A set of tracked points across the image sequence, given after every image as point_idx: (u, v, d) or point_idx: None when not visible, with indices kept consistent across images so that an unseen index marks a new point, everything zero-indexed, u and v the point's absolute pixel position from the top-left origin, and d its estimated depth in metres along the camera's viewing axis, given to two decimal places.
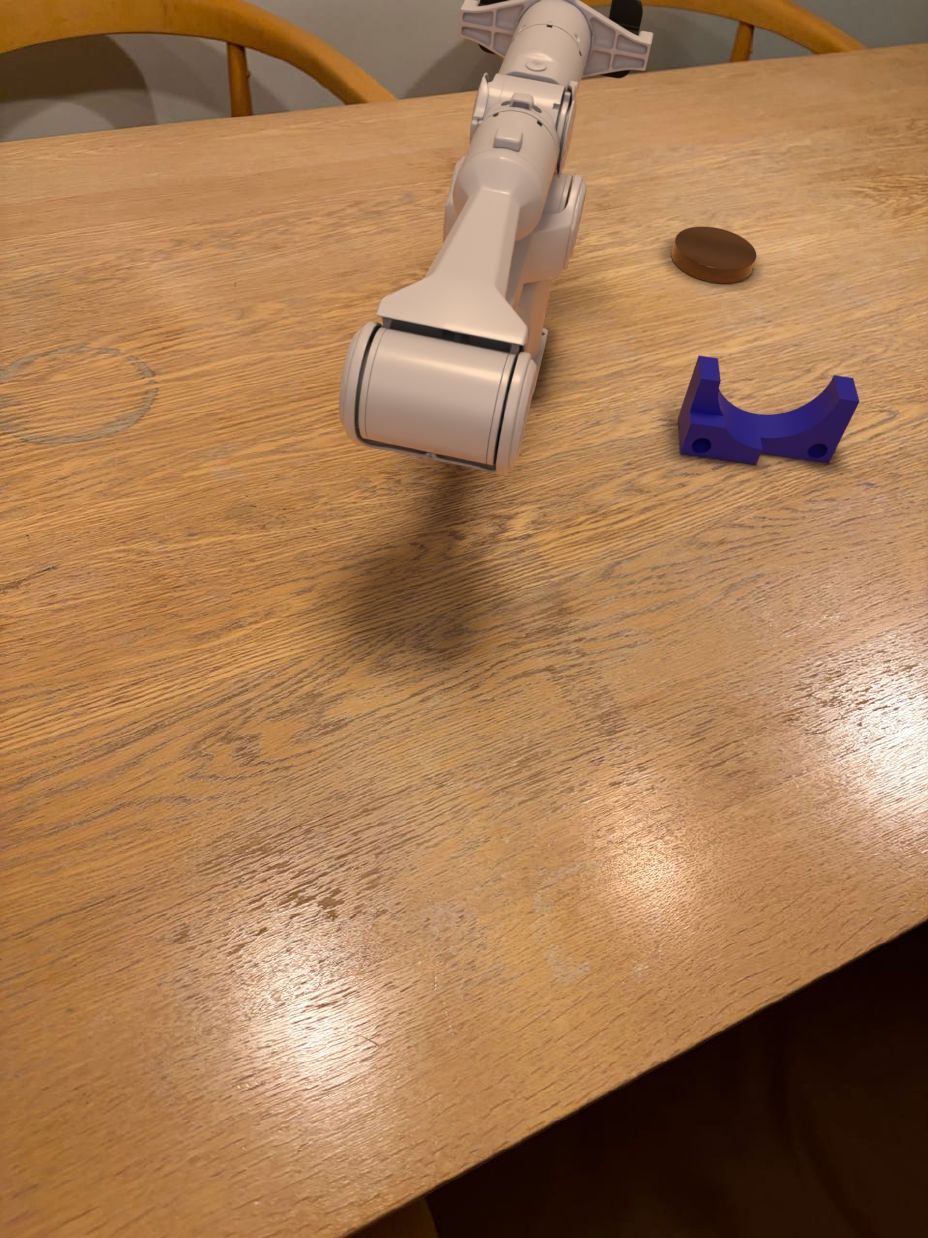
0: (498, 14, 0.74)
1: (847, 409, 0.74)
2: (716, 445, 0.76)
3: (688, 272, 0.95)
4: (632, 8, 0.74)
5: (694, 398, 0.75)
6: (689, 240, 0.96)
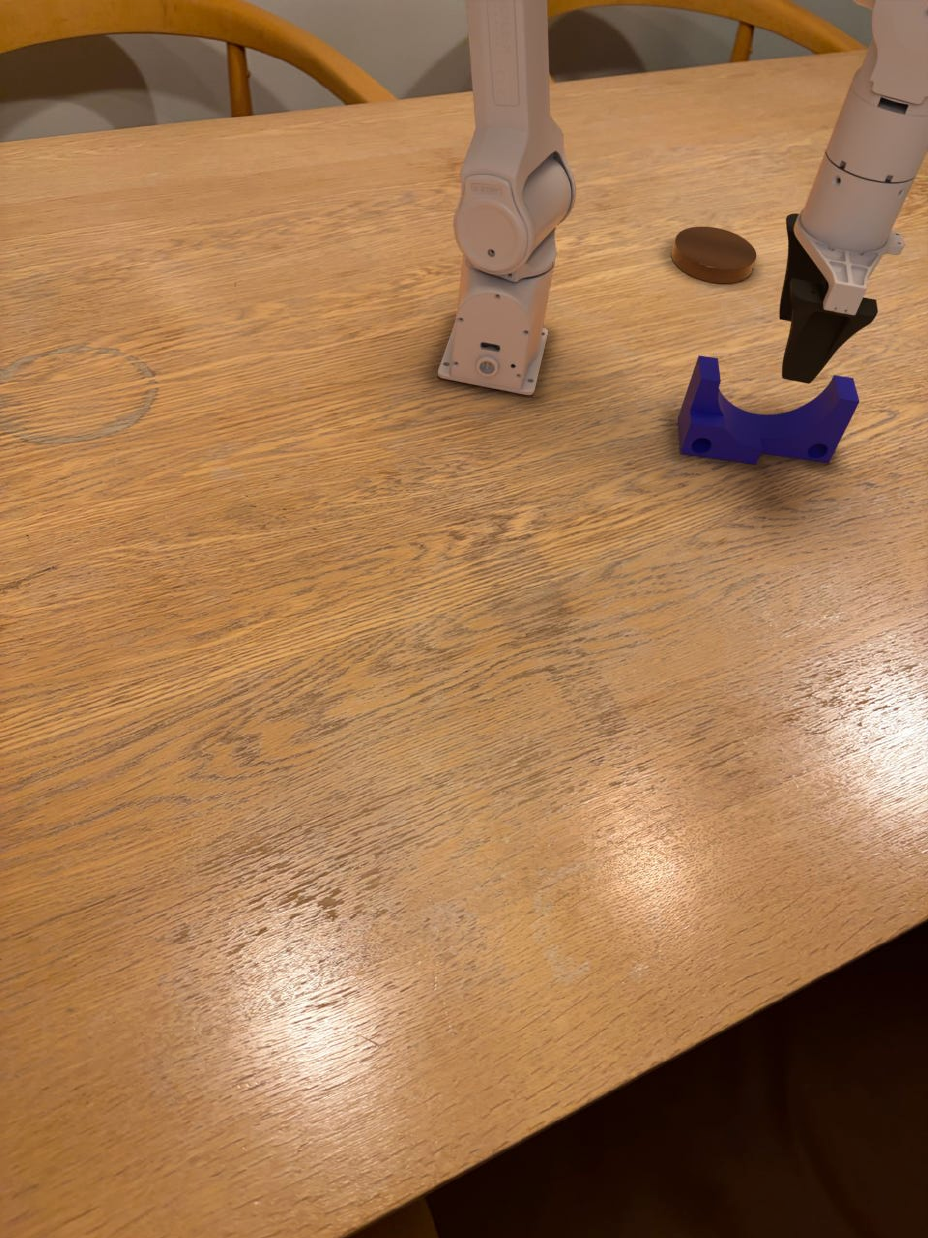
0: None
1: (847, 409, 0.74)
2: (716, 445, 0.76)
3: (688, 272, 0.95)
4: (868, 309, 0.63)
5: (694, 398, 0.75)
6: (689, 240, 0.96)
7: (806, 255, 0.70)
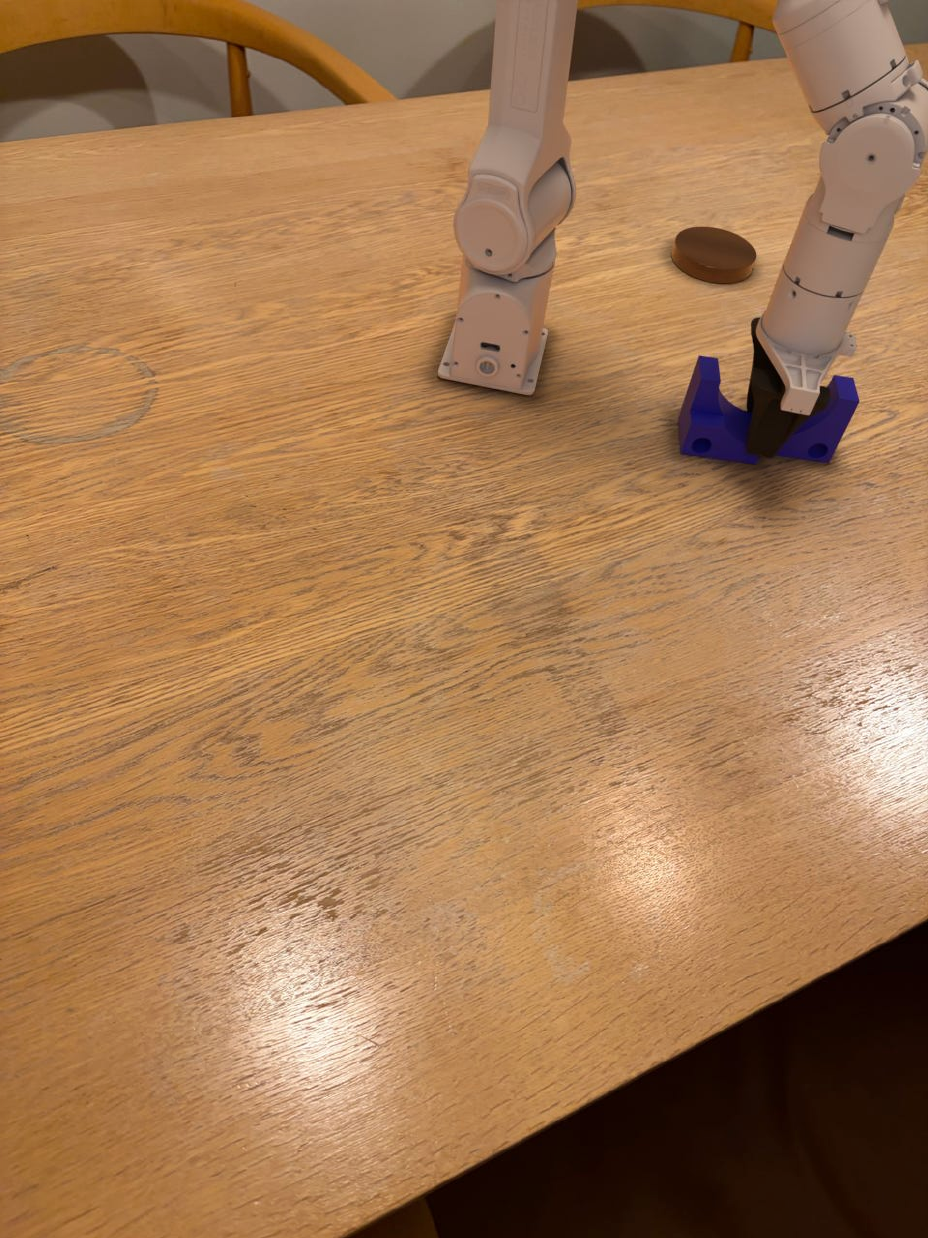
0: None
1: (847, 409, 0.74)
2: (716, 445, 0.76)
3: (688, 272, 0.95)
4: (822, 397, 0.70)
5: (694, 398, 0.75)
6: (689, 240, 0.96)
7: None
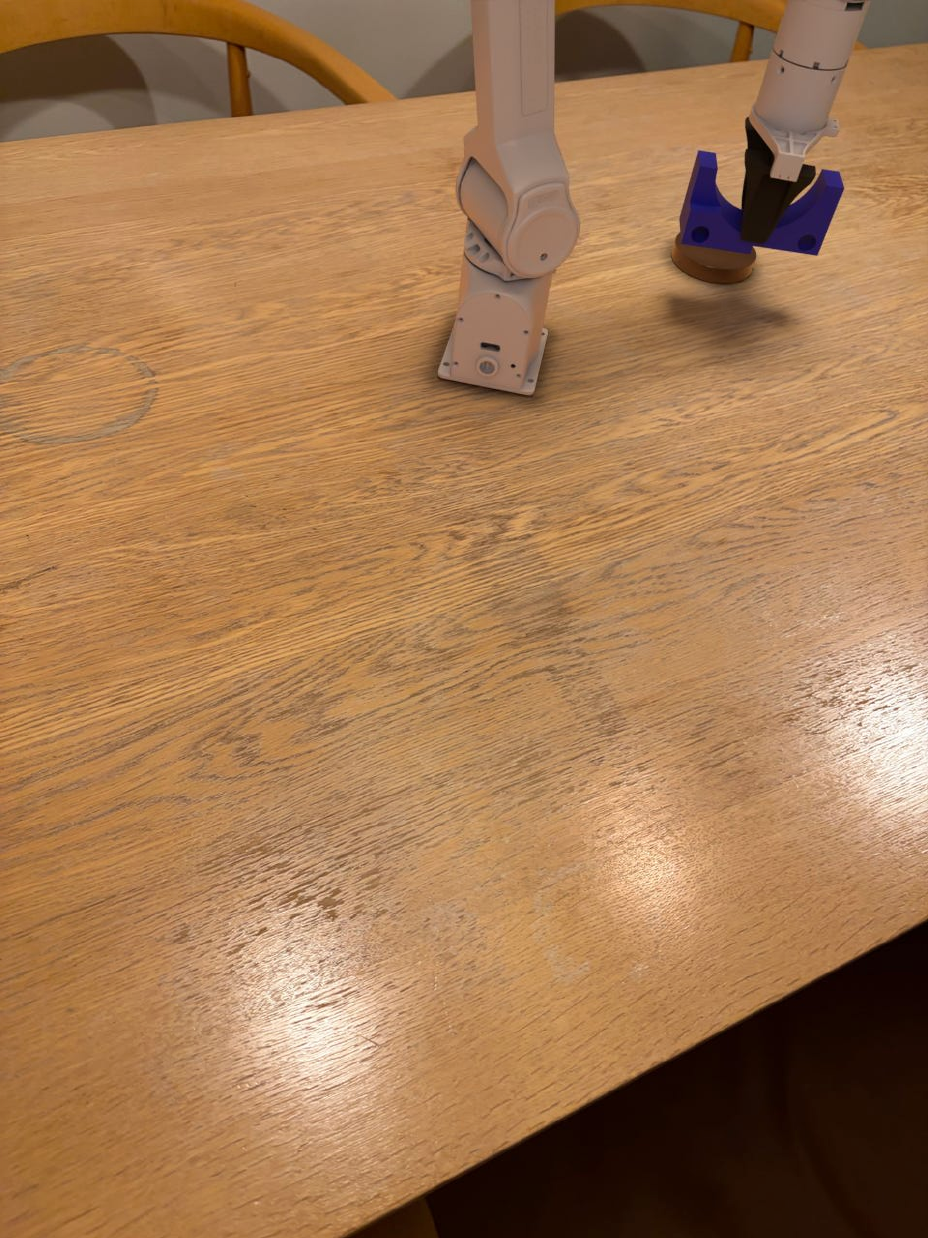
0: None
1: (833, 196, 0.82)
2: (714, 234, 0.83)
3: (688, 272, 0.95)
4: (808, 172, 0.77)
5: (694, 188, 0.82)
6: None
7: (762, 151, 0.83)
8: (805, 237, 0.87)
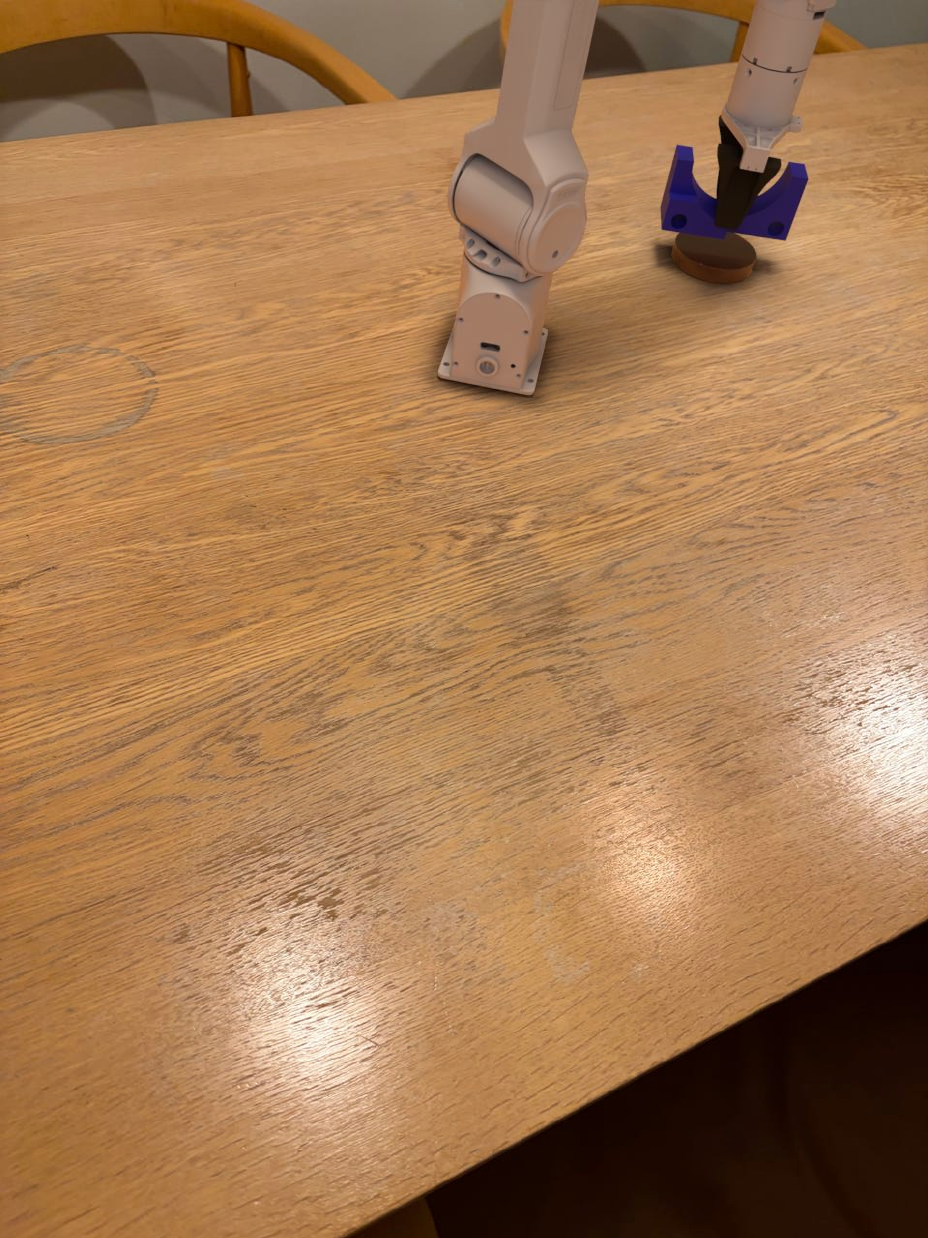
0: None
1: (799, 186, 0.90)
2: (691, 220, 0.92)
3: (688, 272, 0.95)
4: (774, 164, 0.85)
5: (672, 178, 0.91)
6: (689, 240, 0.96)
7: (734, 145, 0.91)
8: (775, 224, 0.95)
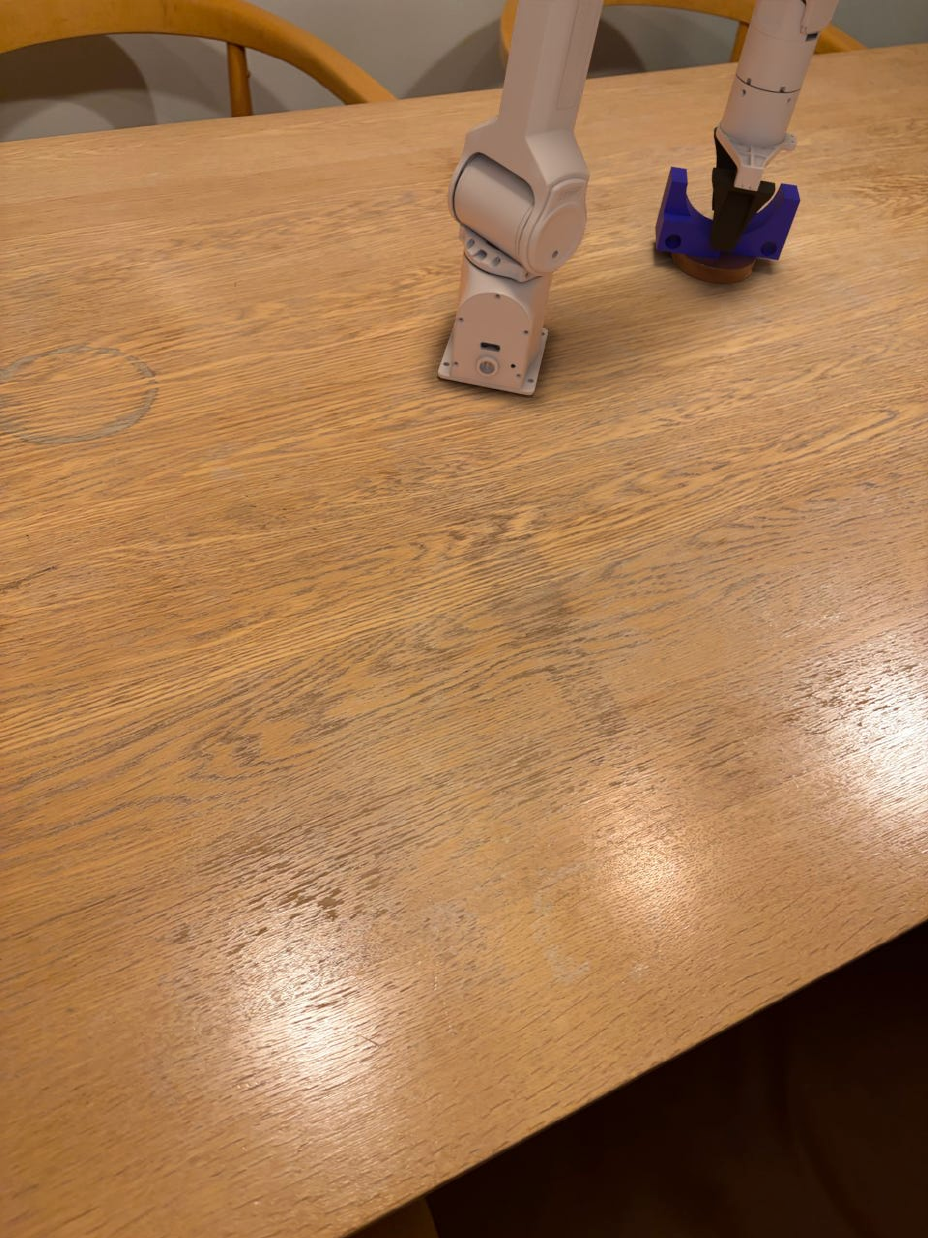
0: None
1: (791, 208, 0.92)
2: (685, 241, 0.94)
3: (688, 272, 0.95)
4: (768, 188, 0.86)
5: (667, 200, 0.92)
6: None
7: (729, 157, 0.93)
8: (768, 244, 0.97)
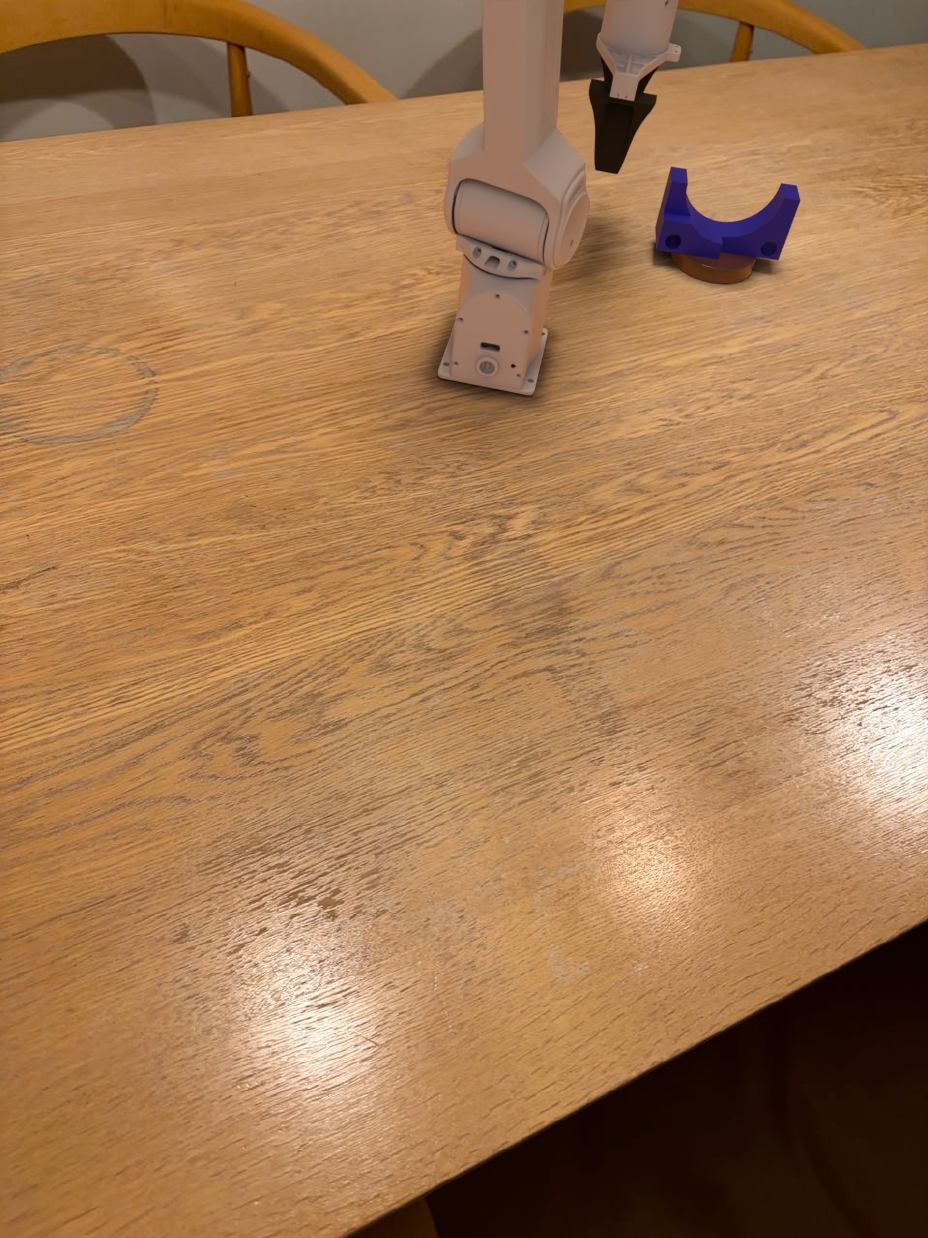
0: None
1: (791, 208, 0.92)
2: (685, 241, 0.94)
3: (688, 272, 0.95)
4: (648, 100, 0.80)
5: (667, 200, 0.92)
6: None
7: None
8: (768, 244, 0.97)
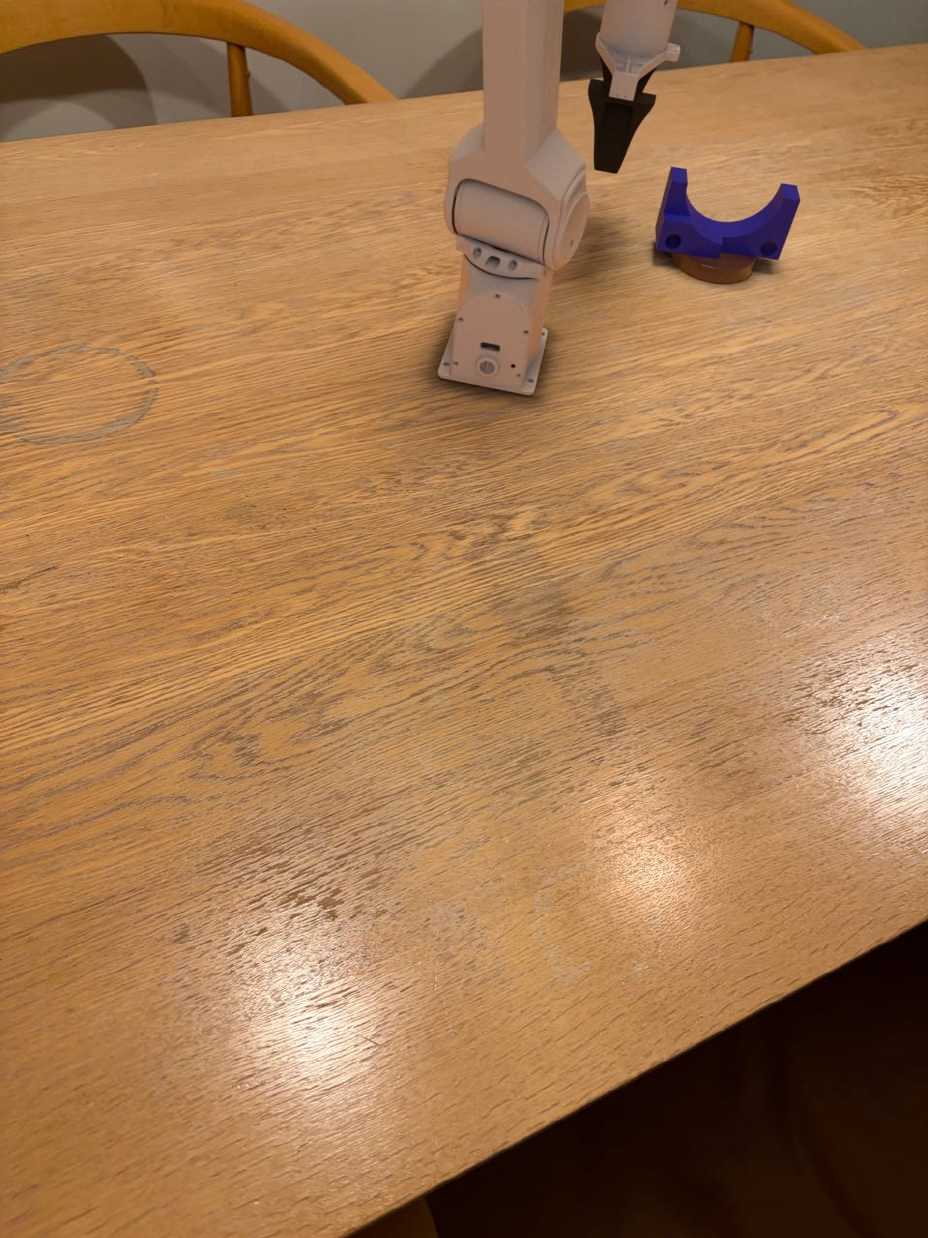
0: None
1: (791, 208, 0.92)
2: (685, 241, 0.94)
3: (688, 272, 0.95)
4: (648, 99, 0.80)
5: (667, 200, 0.92)
6: None
7: None
8: (768, 244, 0.97)
